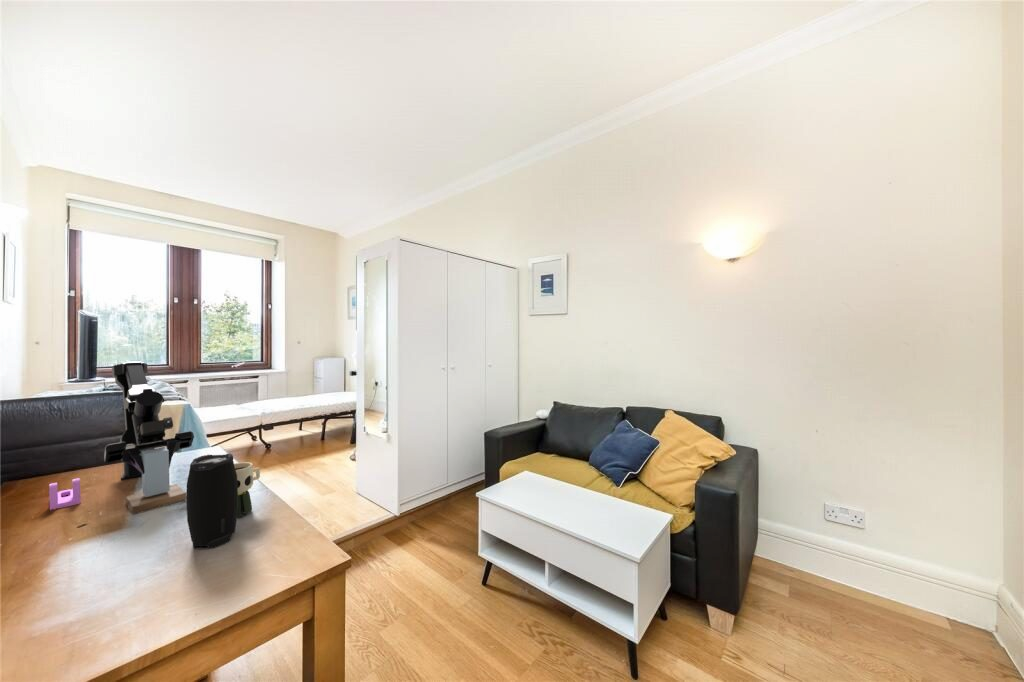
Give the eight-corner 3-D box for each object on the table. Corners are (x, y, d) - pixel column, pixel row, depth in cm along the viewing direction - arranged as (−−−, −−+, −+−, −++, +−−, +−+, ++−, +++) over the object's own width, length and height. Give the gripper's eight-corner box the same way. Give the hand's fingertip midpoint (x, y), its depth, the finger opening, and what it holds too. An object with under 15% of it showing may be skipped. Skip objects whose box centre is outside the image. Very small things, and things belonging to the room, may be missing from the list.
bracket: (80, 503, 107) (79, 479, 107) (49, 510, 103) (49, 485, 103) (79, 491, 116) (79, 469, 116) (51, 497, 111) (50, 474, 111)
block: (142, 492, 107) (141, 451, 107) (165, 486, 111) (164, 447, 111) (145, 497, 104) (144, 454, 104) (169, 491, 108) (168, 450, 108)
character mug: (218, 527, 93) (217, 476, 93) (207, 519, 97) (206, 470, 97) (266, 509, 102) (265, 463, 102) (254, 503, 106) (253, 458, 106)
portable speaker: (188, 539, 88) (186, 457, 87) (237, 526, 94) (236, 449, 93) (186, 556, 81) (184, 467, 81) (240, 541, 87) (238, 458, 87)
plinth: (126, 503, 107) (125, 496, 107) (176, 490, 116) (176, 483, 116) (133, 514, 100) (132, 507, 100) (186, 499, 109) (186, 492, 109)
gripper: (104, 415, 102) (111, 464, 96) (191, 405, 117) (202, 446, 111) (101, 439, 107) (107, 486, 101) (185, 426, 122) (196, 466, 116)
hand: (156, 470), depth 107 cm, fingers closed on block, 5 cm apart
